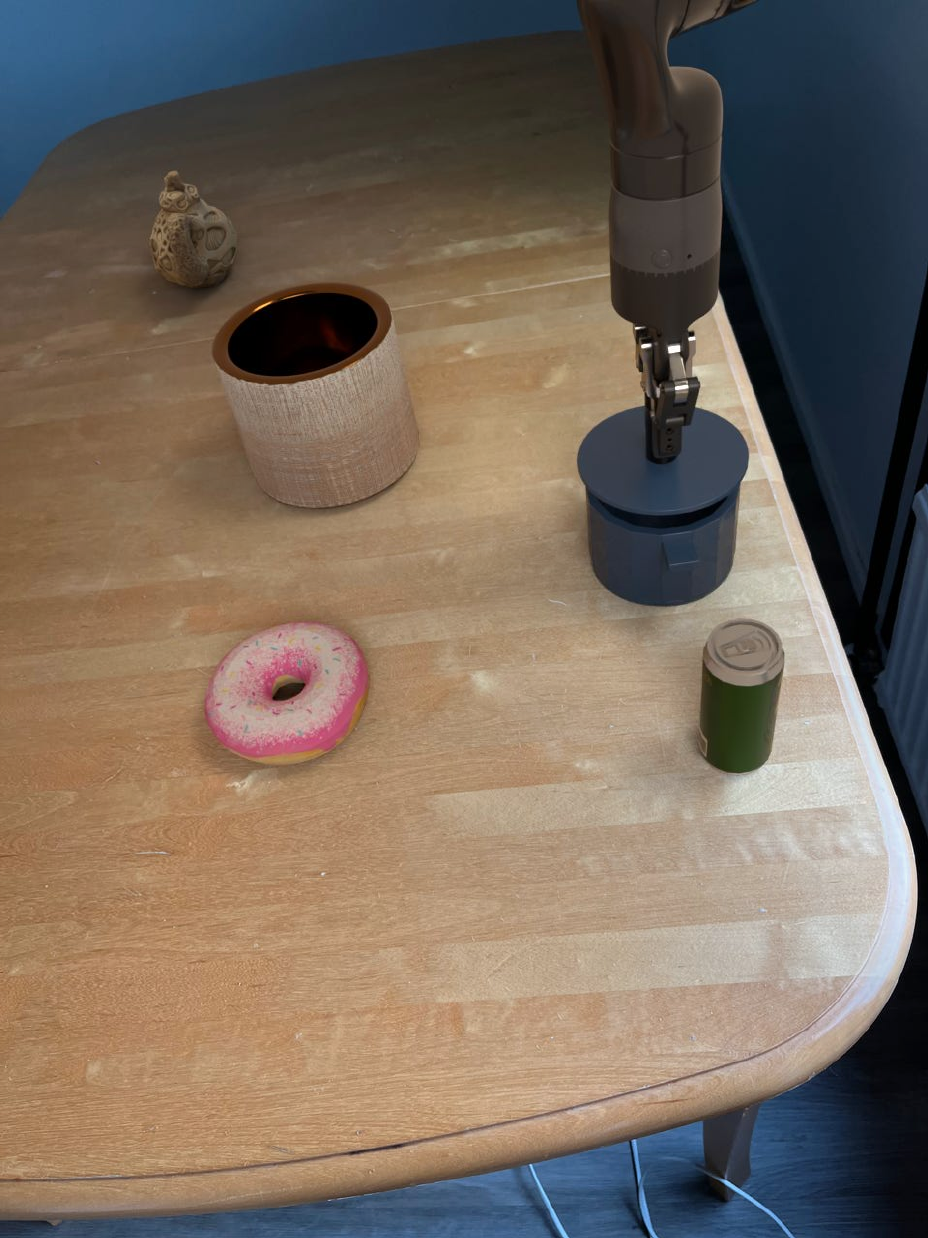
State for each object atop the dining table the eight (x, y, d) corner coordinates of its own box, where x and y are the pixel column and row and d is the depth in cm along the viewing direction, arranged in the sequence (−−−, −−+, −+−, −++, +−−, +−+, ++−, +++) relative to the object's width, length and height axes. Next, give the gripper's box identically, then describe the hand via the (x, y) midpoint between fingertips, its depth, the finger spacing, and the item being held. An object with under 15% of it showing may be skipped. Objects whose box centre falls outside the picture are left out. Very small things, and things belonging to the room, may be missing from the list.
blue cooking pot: (708, 481, 98) (712, 408, 92) (757, 618, 85) (765, 544, 79) (577, 500, 98) (572, 429, 92) (607, 639, 86) (604, 567, 80)
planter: (424, 401, 113) (399, 270, 101) (416, 507, 101) (386, 373, 89) (269, 416, 115) (227, 290, 103) (242, 523, 103) (192, 393, 91)
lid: (725, 403, 89) (729, 342, 84) (768, 507, 79) (775, 444, 75) (567, 427, 89) (562, 367, 85) (590, 532, 80) (587, 472, 75)
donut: (209, 788, 81) (189, 752, 78) (223, 661, 90) (205, 623, 87) (376, 763, 81) (363, 726, 77) (372, 638, 90) (361, 599, 86)
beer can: (715, 788, 75) (724, 686, 66) (686, 732, 79) (690, 628, 70) (784, 766, 75) (801, 662, 67) (751, 712, 79) (763, 606, 70)
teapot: (162, 257, 145) (122, 150, 134) (241, 238, 146) (208, 130, 135) (167, 333, 131) (122, 220, 120) (255, 311, 131) (219, 197, 120)
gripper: (745, 283, 65) (730, 490, 78) (696, 186, 74) (690, 385, 87) (627, 301, 65) (631, 505, 78) (594, 203, 75) (602, 398, 87)
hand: (662, 441), depth 82 cm, fingers closed on lid, 2 cm apart
